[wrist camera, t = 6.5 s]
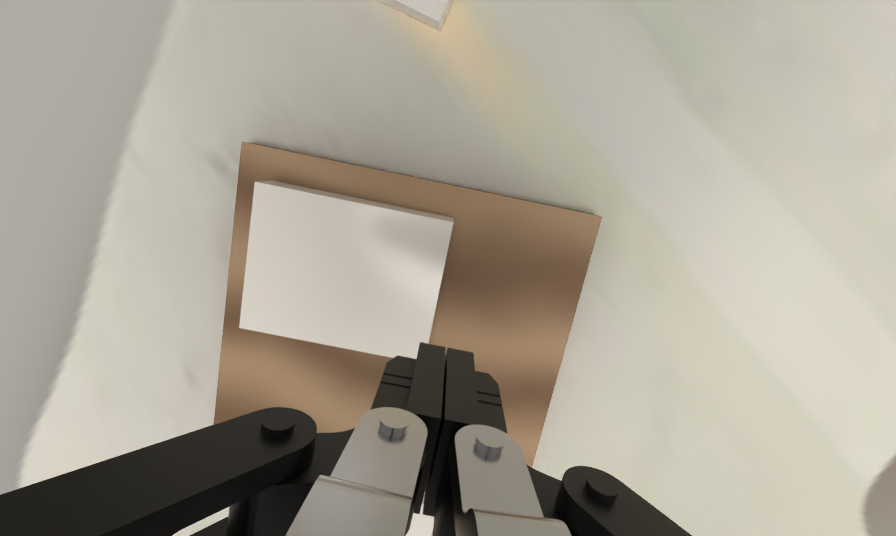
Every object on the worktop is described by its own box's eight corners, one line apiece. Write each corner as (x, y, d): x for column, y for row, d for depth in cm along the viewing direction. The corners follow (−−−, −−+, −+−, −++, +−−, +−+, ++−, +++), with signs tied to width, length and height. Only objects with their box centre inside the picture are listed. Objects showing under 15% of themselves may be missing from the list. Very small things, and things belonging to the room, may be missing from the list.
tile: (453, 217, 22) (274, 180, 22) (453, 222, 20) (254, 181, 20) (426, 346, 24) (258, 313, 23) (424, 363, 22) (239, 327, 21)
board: (252, 143, 23) (241, 141, 22) (594, 214, 23) (601, 216, 22) (217, 478, 27) (206, 492, 26) (507, 531, 28) (509, 547, 26)
